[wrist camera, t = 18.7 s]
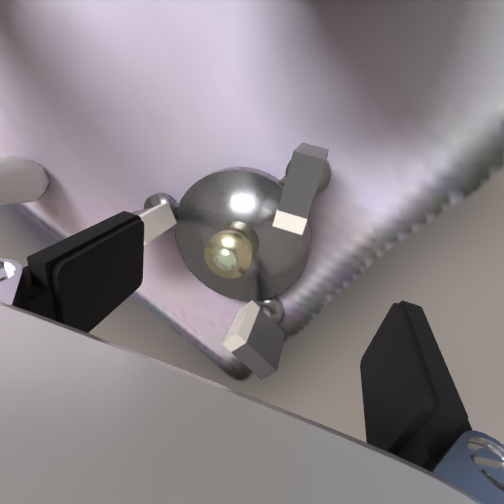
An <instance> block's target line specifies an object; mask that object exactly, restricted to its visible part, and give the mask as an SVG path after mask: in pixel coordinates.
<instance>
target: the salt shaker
mask: <svg viewBox="0 0 504 504" xmlns="http://www.w3.org/2000/svg"><path fill="white" fill-rule="evenodd" d="M49 181H50V180H49V178H48V176H47V174H46V172H45V169H44V167H43V166H41V165H39V164H37V163H36V162H34V161H32V160H29V159H25V158H21V157H17V156H10V157H6V158H3V159H0V205H4V204H14V203H25V202H33V201H35V200H37V199H38V198H39V197H40V196H41V195H42V194H43V193H44V192H45V191H46V189H47V187H48V184H49Z"/></svg>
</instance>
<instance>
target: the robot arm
mask: <svg viewBox="0 0 504 504" xmlns="http://www.w3.org/2000/svg"><path fill="white" fill-rule="evenodd" d="M143 253H144V222H143V221H142V220H141V217H140V216H138V215H135V214H132V213H129V212H126V211H123V212H121V213H119V214H117V215H115V216H112V217H110V218H108V219H106V220H104V221H102V222H100V223H98V224H96V225H94V226H91V227H89V228H87V229H85V230H83V231H81V232H79V233H77V234H75V235H72V236H70V237H68V238H66V239H64V240H62V241H60V242H58V243H56V244H54V245H52V246H49V247H47V248H45V249H43V250H41V251H39V252H37V253H35V254H33V255H30V256H28V257H27V261H28V266H26V267H24V268H22V266H21V265H20V263H18V262H16V261H14V260H9V259H0V504H504V445H503V444H501V443H500V442H499V441H497V440H496V439H494V438H492V437H490V436H489V435H487V434H485V433H482V432H478V431H472V428H471V426H470V424H469V421H468V419H467V418H468V415H467V413H466V411H465V408H464V406H463V403H462V402H461V399H460V397H459V394H458V392H457V389H456V387H455V385H454V382H453V380H452V377H451V375H450V373H449V371H448V368H447V366H446V363H445V361H444V359H443V356H442V354H441V352H440V350H439V347H438V344H437V342H436V340H435V338H434V335H433V333H432V330H431V328H430V326H429V323H428V321H427V318H426V316H425V314H424V311H423V309H422V307H420V306H418V305H415V304H412V303H408V302H405V301H401V302H400V303H399V304H398V303H394V304H393V305H392V307H391V308H390V310H389V312H388V314H387V315H386V317H385V319H384V320H383V322H382V324H381V326H380V327H379V329H378V331H377V333H376V335H375V336H374V338H373V339H372V341H371V343H370V345H369V346H368V348H367V350H366V352H365V353H364V355H363V357H362V360H361V364H360V370H361V381H362V393H363V403H364V415H365V427H366V439H367V443H365V442H363V441H361V440H358V439H356V438H353V437H351V436H348V435H346V434H344V433H341V432H339V431H336V430H334V429H332V428H329V427H327V426H324V425H322V424H319V423H316V422H314V421H312V420H308V419H306V418H304V417H301V416H299V415H296V414H294V413H291V412H289V411H286V410H284V409H281V408H279V407H276V406H274V405H271V404H269V403H266V402H263V401H261V400H259V399H256V398H254V397H251V396H248V395H246V394H243V393H241V392H238V391H236V390H233V389H231V388H228V387H226V386H223V385H221V384H218V383H215V382H213V381H210V380H207V379H205V378H203V377H200V376H198V375H195V374H192V373H190V372H187V371H185V370H182V369H179V368H177V367H174V366H172V365H169V364H167V363H164V362H162V361H159V360H156V359H154V358H151V357H149V356H146V355H144V354H141V353H138V352H136V351H133V350H130V349H128V348H125V347H123V346H120V345H117V344H115V343H112V342H110V341H107V340H104V339H102V338H99V337H96V336H94V335H91V334H89V332H90V331H91V330H92V329H93V328H94V327H95V326H96V325H97V324H99V323H100V322H101V321H102V320H103V319H104V318H105V317H106V316H108V315H109V314H110V313H111V312H112V311H113V310H114V309H115V308H116V307H118V305H120V304H121V303H122V302H123V301H124V300H125V299H126V298H128V297H129V296H130V295H131V294H132V293H133V292H134V291H135V290H137V289H138V288H139V287H140V285H141V283H142V279H143Z"/></svg>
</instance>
